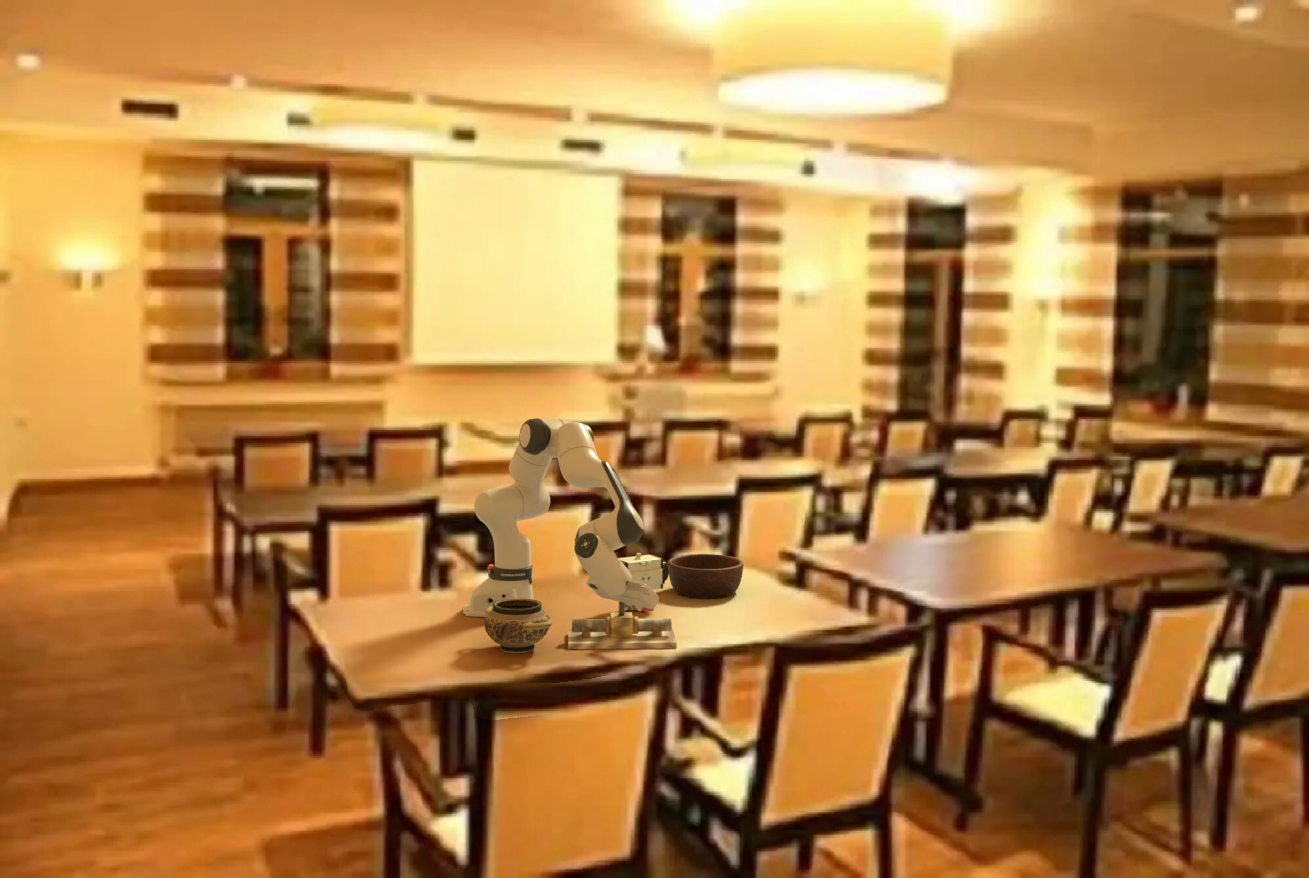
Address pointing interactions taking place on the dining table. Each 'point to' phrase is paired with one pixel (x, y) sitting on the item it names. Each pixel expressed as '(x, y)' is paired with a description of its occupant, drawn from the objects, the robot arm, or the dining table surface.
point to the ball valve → (646, 571)
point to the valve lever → (647, 609)
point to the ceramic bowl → (516, 624)
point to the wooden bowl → (705, 575)
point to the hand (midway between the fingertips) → (638, 608)
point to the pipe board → (621, 643)
